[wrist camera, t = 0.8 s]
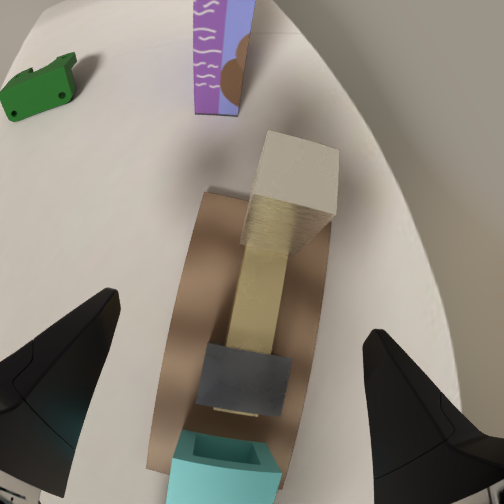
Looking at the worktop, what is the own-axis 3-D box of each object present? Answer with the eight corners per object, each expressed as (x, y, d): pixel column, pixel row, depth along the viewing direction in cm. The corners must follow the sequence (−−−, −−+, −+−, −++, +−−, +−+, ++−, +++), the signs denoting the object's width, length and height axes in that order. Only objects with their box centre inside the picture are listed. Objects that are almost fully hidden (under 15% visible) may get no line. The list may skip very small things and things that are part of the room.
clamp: (78, 103, 33) (88, 51, 27) (68, 124, 30) (76, 67, 24) (14, 100, 27) (17, 49, 21) (-2, 121, 24) (-2, 66, 18)
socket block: (256, 481, 19) (268, 517, 13) (175, 469, 18) (165, 503, 13) (265, 442, 20) (282, 473, 14) (182, 429, 20) (172, 457, 14)
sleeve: (265, 399, 21) (280, 417, 16) (199, 387, 21) (195, 403, 16) (275, 353, 22) (292, 358, 17) (208, 340, 22) (207, 342, 17)
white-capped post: (258, 407, 20) (294, 461, 10) (206, 398, 20) (201, 450, 10) (291, 221, 24) (339, 149, 14) (245, 210, 24) (267, 129, 14)
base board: (279, 484, 20) (282, 489, 19) (148, 464, 19) (146, 468, 18) (327, 225, 27) (331, 221, 26) (204, 196, 26) (204, 191, 25)
